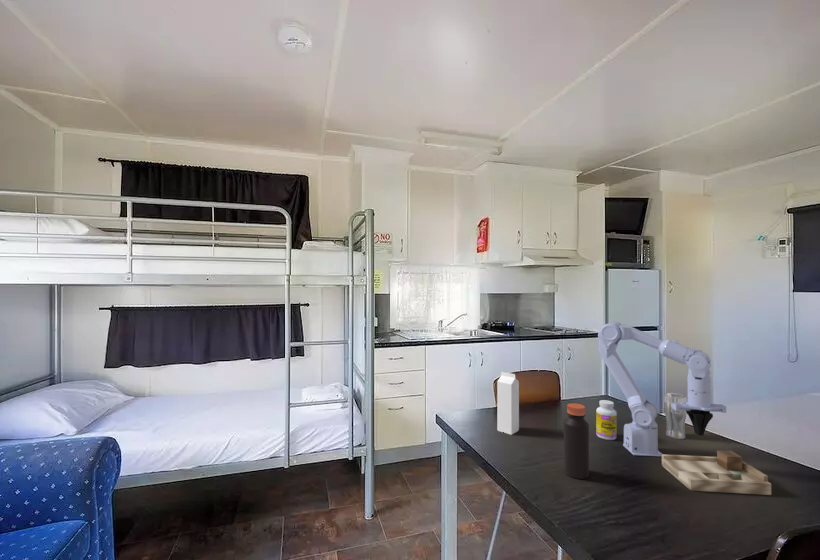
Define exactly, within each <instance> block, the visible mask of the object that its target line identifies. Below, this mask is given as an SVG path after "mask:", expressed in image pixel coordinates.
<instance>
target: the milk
mask: <svg viewBox="0 0 820 560" xmlns="http://www.w3.org/2000/svg"><path fill="white" fill-rule="evenodd" d="M496 386H497V387H496V388H497V389H496V390H497V393H496V394H497V397H496V398H497V399H496V400H497V403H496V404H497V407H496V408H497V410H496V411H497V415H496V416H497V420H496V421H497V422H496V423H497V424H496V425H497V427H496V430H497V431H498V432H500V433H503V432H504V434H507V435H510V436H512V435H515V434H516V433H517V432H518V431H519V430H520V406H519V405H520V390H519V389H520V381H519V380H518V379H517V378H516V374H515V373H512V372H511V373H510V372H505V371H501V372H500V377H499V378H498V379H497V385H496Z"/></svg>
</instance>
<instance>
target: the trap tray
mask: <svg viewBox="0 0 820 560" xmlns="http://www.w3.org/2000/svg"><path fill="white" fill-rule="evenodd" d="M661 466H662V467H663V468H664V469H665V470H667V471H668V472H669V473H670V474H671V475H672V476H673V477H674V478H675V479H677V481H679V482H680V483H681V484H683V485H684V486H685V487H686V488H687V489H688V490H690V491H694V492H695V491H696V492H711V493H728V494H729V493H730V494H732V493H733V494H744V495H745V494H748V495H763V496H764V495H765V496H766V495H767V496H772V482H769V476H768V475H767V474H765V473H763V472H762V471H760V470H758V469H757V468H756V467H754V466H753V465H751V464H749V463H747V462H745V461H744V460H742V471H727V470H726V469H724V468H723V467H721V466H720V465H718V464H717V456H705V455H684V454H683V455H682V454H664V453H662V457H661Z"/></svg>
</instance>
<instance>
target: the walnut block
mask: <svg viewBox="0 0 820 560" xmlns="http://www.w3.org/2000/svg"><path fill="white" fill-rule="evenodd" d="M716 457H717V464H718V465H720V466H721V467H723V468H724V469H726V470H727V471H742V461H743V457H742V456H741V455H739V454H737V453H735V452H734V451H732V450H716Z"/></svg>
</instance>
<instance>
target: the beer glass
mask: <svg viewBox="0 0 820 560" xmlns="http://www.w3.org/2000/svg"><path fill="white" fill-rule="evenodd" d="M663 399H664V400H663V406H664V408H663V409H664V415H665V420H666V429H665V435H666V436H668V437H669V438H673V439H677V440H684V439H686V437H687V436H686V431H685V426H686V425H685V424H686V420H687V415H688V414H687V412H686V411H684V410H679V411H675V410H674V409H672V403H681V402H688V399H687V395H684V394H682V393H678V392H677V393H676V392H665V393H664V397H663Z"/></svg>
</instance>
